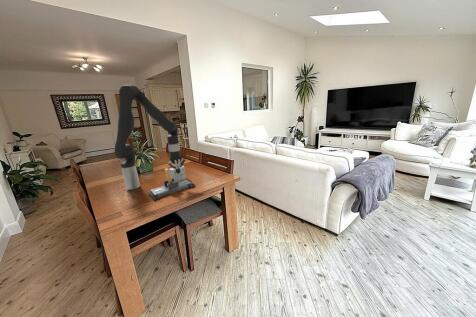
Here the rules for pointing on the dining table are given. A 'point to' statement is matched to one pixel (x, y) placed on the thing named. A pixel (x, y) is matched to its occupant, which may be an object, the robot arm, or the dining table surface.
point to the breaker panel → (165, 189)
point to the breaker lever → (168, 175)
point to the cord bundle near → (153, 196)
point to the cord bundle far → (191, 185)
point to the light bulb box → (178, 176)
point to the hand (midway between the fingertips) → (178, 173)
